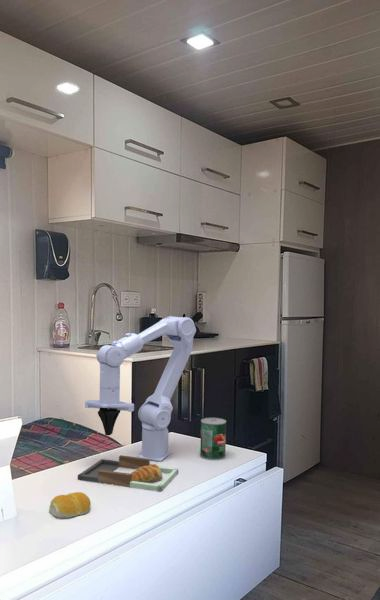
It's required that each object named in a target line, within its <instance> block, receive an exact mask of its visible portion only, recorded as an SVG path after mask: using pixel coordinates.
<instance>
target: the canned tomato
mask: <svg viewBox="0 0 380 600" xmlns="http://www.w3.org/2000/svg"><path fill="white" fill-rule="evenodd" d="M226 434H227V420H226V419H224V418H219V417H204V418H201V420H200V449H199V451H200V452H199V456H200V458H201V459H205V460H208V461H209V460H210V461H219V460H223V459H225V458H226V451H227V450H226V442H227V440H226V439H227V435H226Z"/></svg>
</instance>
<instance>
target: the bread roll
mask: <svg viewBox="0 0 380 600" xmlns="http://www.w3.org/2000/svg"><path fill="white" fill-rule="evenodd" d="M91 504H92V502H91V499H90V497H89V496H88V495H87V494H86V493H85V492H81V491H79V492H78V491H77V492H71V493H70V492H69V493H67V494H59V495H56V496H54V497H53V498H52V499H51V500H50V504H49V508H48V510H49V512H50V514H51V515H52V516H53V517H55V518H57V519H70V518H75V517H78V516H83V515H84V514H87V513H88V512H89V511H90V509H91V506H92V505H91Z"/></svg>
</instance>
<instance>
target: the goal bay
mask: <svg viewBox="0 0 380 600" xmlns="http://www.w3.org/2000/svg"><path fill="white" fill-rule="evenodd" d="M158 466H159V468H160V471H161V473H162V474H168V475H167V476H166V477H164V479H163V480H162V481H161V482H160V483H159V484H157V483H144V482H137V481H131V482H130V487H129V488H132V487H133V488H135V489H139V488H140V490H147V489H148V491H154V490H155V491H154V492H162V491H163V490H164V489H165V488H166V487H167V486H168V485H169V484H170V483H171V481H172V480H173V479H174V478H175V477H176V476H177V474H179V468H175V467H167V466H160V465H158Z"/></svg>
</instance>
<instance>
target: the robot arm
mask: <svg viewBox="0 0 380 600" xmlns="http://www.w3.org/2000/svg"><path fill="white" fill-rule="evenodd" d="M196 332H197V327H196V325H195V322H194V320H193V319H192V318H191V317H187V316H186V317H185V316H184V317H182V316H181V317H180V316H173V315H170V316H169V315H168V316H167V317H165V318H162V319H160V320H159V321H158V322H156V323H155V324H153V325H151V326H150V327H148V328H146V329H144V330H143V331H141V332H140V333H137V334H136V333H133V332H132V333H131V332H126V333H125V334H124V337H121V338H120V339H118V340H113V341H112V342H111V345H109V344H105V345H103V346H101V347H100V349H99V350H98V351H97V354H96V355H95V356H96V360H97V362H98V364H99V399H97V400H96V399H87V400H85V401H84V408H85V409H89V408H90V409H98V411H97V415H98V416H99V418H100V420H101V423H102V426H103V427H102V428H103V431H104V434H105V436H111V435H113V432H114V428H115V424H116V421H117V419H118V417H119V415H120V413H121V411H126V412H134V411H135V404H134V403H132V402H130V403H129V402H125V401H120V400H121V399H120V395H121V394H120V392H121V391H120V390H121V389H120V388H121V387H120V386H121V385H120V384H121V365H122V364H123V363H124V361H125V360H126V359H127V358H129V357H131V356H132V355H135V354H136V353H139V352H140V351H142V350H143V346H144V344H148V343H149V342H151V341H153V340H155V339H157V338H160V337H161V336H163V335H165V336H167V339H168V340H169V341H170V342H171V343H172V344H171V345H172V347H173V350H172V352H171V354H170V356H169V359H168V361H167V364H166V365H165V368H164V370H163V372H162V374H161V376H160V379H159V381H158V383H157V386H156V388H155V390H154V393H153V394H152V395H149V396H148V397H147V398H146V400H145V402H144V403H143V404H142V405H141V406H140V408H139V409H138V412H137V414H138V415H137V416H138V419H139V420H140V422H141V426H142V427H141V431H142V432H141V453H140V454H139V455H137V456H136V457H139V458H147V459H150V461H155V462H162V461H163V460H165V459H166V457H168V456H169V455H170V454H171V453H172V451H171V450H169V440H170V439H169V437H170V436H169V434H170V433H169V432H170V431H169V430H168V426H169V424H171V423H170V422H171V419H172V417H171V416H172V412H173V409H174V407H173V405H172V403H171V400H172V397H173V395H174V392H175V390H176V388H177V387H178V383H179V381H180V378H181V377H182V374H183V372H184V369H185V367H186V364H187V363H188V360H189V357H190V355H191V354H192V351H193V347H194V345H193V343H194V336H195V334H196Z"/></svg>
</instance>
